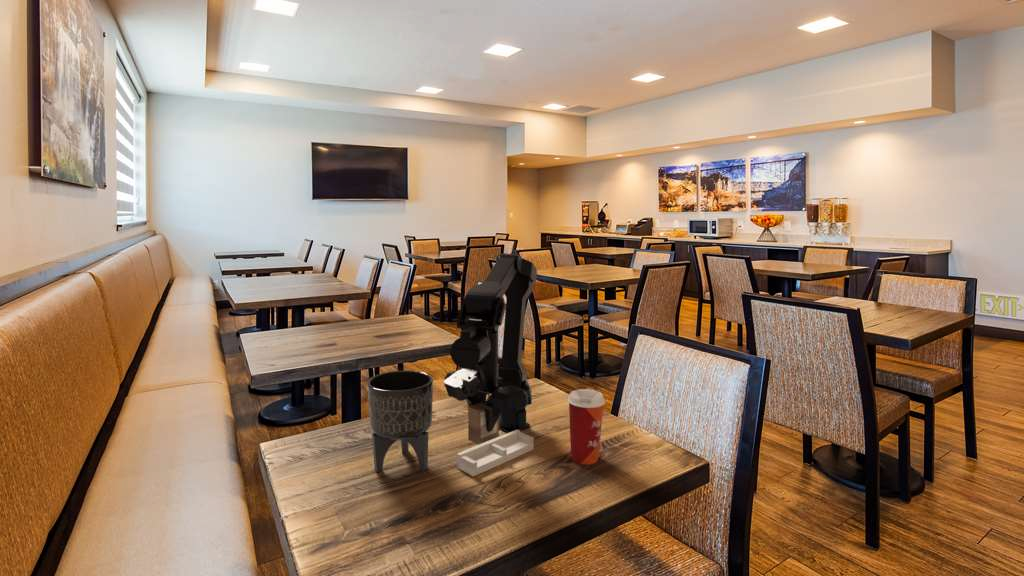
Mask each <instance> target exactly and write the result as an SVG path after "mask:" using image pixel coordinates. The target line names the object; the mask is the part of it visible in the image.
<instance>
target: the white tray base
mask: <svg viewBox="0 0 1024 576" xmlns="http://www.w3.org/2000/svg"><path fill="white" fill-rule="evenodd" d="M534 443H535V442H534V437H532V436H531V435H529V434H526V433H525V432H524V433H523V432H521V430H518V429H517V430H514V431H512V432H510V433H508V432H507V433H504V434H502V435H499V437H496V438H494V439H491V440H489V441H486V442H484V443H481V444H479V445H478V444H476V445H475V446H473V447H470V448H466V449H465V450H463V451H460V452H457V453H456V468H457V469H459V470H461V471H463V472H464V473H466V474H468V475H469V476H471V477H475V476H478V475H480V474H482V473H484V472H486V471H489V470H491V469H492V468H495V467H498V466H500V465H502V464H504V463H507V462H509V461H512V460H513V459H515V458H518V457H520V456H522V455H525V454H526V453H528V452H531V451H533V450H534Z"/></svg>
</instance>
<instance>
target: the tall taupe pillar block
mask: <svg viewBox="0 0 1024 576" xmlns="http://www.w3.org/2000/svg"><path fill="white" fill-rule="evenodd" d="M467 416H468V417H467V423H468V427H467V428H468V429H467V430H468V431H467V433H468V434H467V435H468V439H467V440H468V441H470V442H471V443H473V444H475V445H480V444H482V443H485V442H487V441H490V440H492V439H495V438H497V437H500V429H499V418H498V420H497V422H496V424H495V426H494V428H493V430H492V431H490V432H487V428H486V415H485V408H484V407H483V406H482V405H481V404H480V403H478V404H475V405H472V406H469V405H468V407H467Z"/></svg>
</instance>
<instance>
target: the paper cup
mask: <svg viewBox="0 0 1024 576" xmlns="http://www.w3.org/2000/svg"><path fill="white" fill-rule="evenodd" d="M567 402H568V407H569V409H568V411H569V414H568V415H569V441H570V456H571V457H570V458H571V460H572V461H573V463H576V464H579V465H583V466H584V465H585V466H589V465H594V464H596V463H597V462H598V460H599V455H600V453H599V452H600V445H601V436H602V433H601V432H602V426H603V425H602V423H603V413H604V405H605V404H606V399H605V398H604V395H603V393H601V392H600V391H597V390H595V389H587V388H586V389H585V388H580V389H575V390H572V391H571V392H570V393H569V395H568V397H567Z"/></svg>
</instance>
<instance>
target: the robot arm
mask: <svg viewBox="0 0 1024 576" xmlns="http://www.w3.org/2000/svg"><path fill="white" fill-rule="evenodd" d="M537 274H538V270H537V267H536V266H535V264H534V262H532V261H529V260H527V259H525V258H523V257H522V256H521V255H519V254H518V253H500V254H497V256H496V260H495V263H494V265H493V266H492V268H491V270H490V271H489V273H488V274H487V276H486V277H485V279H484V280H483V282H482V283H478V284H476V285H473V286H472V287H471V288H470V289H469V290H467V292H466V294H465V295H464V296H463V297H462V302H461V306H460V310H459V314H458V319H457V323H456V328H457V329H462V330H460V337H458V338H457V339H455V340H454V341H453V343H452V344H451V347H450V350H449V352H450V353H449V354H450V358H451V360H452V362H453V363H454V365H456V366H457V367H459V368H460V369H457V370H454V371H449V372H447V373H446V375H445V377H444V381H443V384H444V388H445V389H446V390H445V391H446V393H447V396H448V398H449V397H450V398H454V399H456V400H457V401H459V402H463V401H466V403H467V405H468V407H469V406H472V405H475V404H478V403H480V404H481V405H482V406H483V407H484V408H485V415H486V428H487V432H490V431H492V430H493V428H494V426H495V424H496V422H497V420H498V418H499V430H501V431H504V432H507V433H510V432H512V431H514V430H517V429H518V430H520V431H522V430H524V429H526V428H530V426H531V424H530V423H528V422H527V410H526V407H528V406H529V405H532V404H533V403H532V401H533V399H532V397H533V395H532V392H533V391H532V388H531V386H530V384H529V381H528V379H527V378H528V373H527V371H526V368H525V366H524V365H523V363H522V353H523V342H524V341H523V339H524V327H525V314H526V313H525V312H526V302H527V299H528V297H530V295H531V294H532V293H533V291H534V287H535V283H536V282H537V278H538V277H537V276H538V275H537ZM504 296H505V298H506V300H505V298H504ZM503 320H504V324H503ZM502 324H503V325H504V327H503V337H502V350H501V357H499V327H500V326H502ZM487 396H488V397H487Z"/></svg>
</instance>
